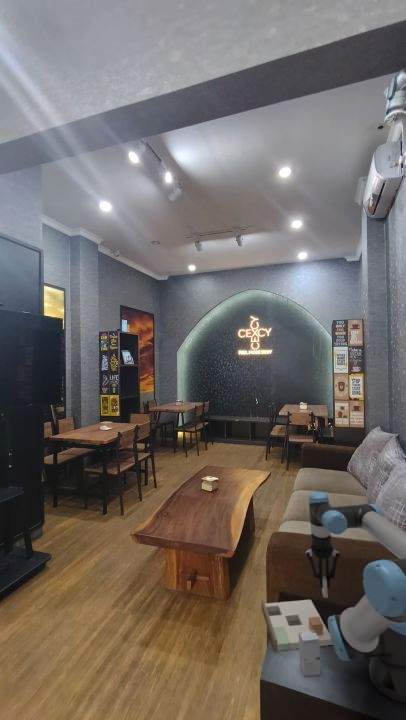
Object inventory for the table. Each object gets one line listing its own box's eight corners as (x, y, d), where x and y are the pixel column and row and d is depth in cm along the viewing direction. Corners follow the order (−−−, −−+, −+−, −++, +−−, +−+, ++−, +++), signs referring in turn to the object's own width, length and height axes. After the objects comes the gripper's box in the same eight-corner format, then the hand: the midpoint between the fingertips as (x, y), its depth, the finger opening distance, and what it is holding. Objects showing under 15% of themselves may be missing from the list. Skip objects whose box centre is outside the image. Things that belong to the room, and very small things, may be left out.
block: (323, 634, 132) (322, 624, 132) (312, 635, 132) (312, 625, 132) (319, 626, 136) (318, 616, 136) (309, 627, 136) (308, 617, 136)
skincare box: (304, 677, 117) (302, 641, 118) (299, 665, 122) (297, 631, 122) (321, 674, 118) (319, 639, 118) (316, 663, 122) (314, 629, 123)
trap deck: (332, 645, 130) (332, 635, 130) (275, 651, 128) (274, 640, 128) (310, 605, 152) (310, 596, 152) (261, 609, 150) (261, 600, 150)
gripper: (335, 529, 139) (340, 590, 137) (302, 529, 141) (306, 589, 139) (340, 538, 131) (345, 602, 130) (305, 537, 133) (309, 601, 132)
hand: (325, 595), depth 135 cm, fingers closed
